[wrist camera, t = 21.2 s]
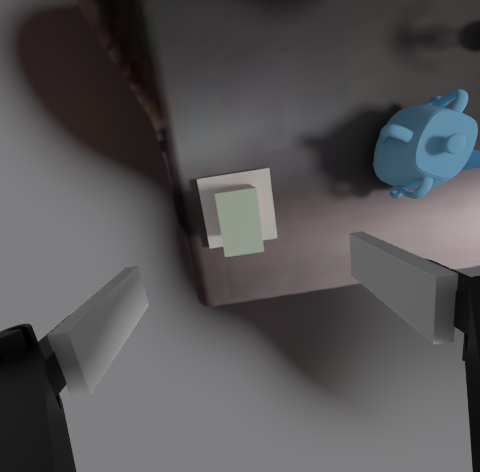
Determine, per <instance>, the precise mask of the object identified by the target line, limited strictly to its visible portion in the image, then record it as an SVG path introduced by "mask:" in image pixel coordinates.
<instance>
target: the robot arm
mask: <svg viewBox="0 0 480 472" xmlns="http://www.w3.org/2000/svg"><path fill="white" fill-rule="evenodd" d="M350 251H351V274H352V276H353V277H354V278H356V279H357V280H358V281H359V282H360V283H361V284H363V285H364V286H365V287H366V288H368V289H369V290H370V291H371V292H372V293H373V294H374V295H376V296H377V297H378V298H379V299H380V300H382V301H383V302H384V303H385V304H386V305H387V306H389V307H390V308H391V309H392V310H393V311H394V312H396V313H397V314H398V315H399V316H400V317H401V318H403V319H404V320H405V321H406V322H407V323H409V324H410V325H411V326H412V327H413V328H414V329H416V330H417V331H418V332H419V333H420V334H422V335H423V336H424V337H425V338H426V339H427V340H429V341H430V342H431V343H432V344H439V343H447V342H453V341H454V328H455V327H456V328H457V329H459V330H460V331H462V332H463V333H464V344H463V345H464V346H463V357H462V360H463V361H465V369H466V383H467V397H468V410H469V425H470V438H471V452H472V467H473V472H480V276H475V277H469V276H467V275H465V274H462V273H460V272H458V271H455V270H453V269H449V268H448V267H446V266H444V265H441V264H439V263H437V262H434V261H432V260H428V259H424V258H421V257H419V256H417V255H414V254H412V253H410V252H407V251H405V250H403V249H401V248H398V247H396V246H394V245H392V244H389V243H387V242H385V241H382V240H380V239H378V238H376V237H373V236H371V235H369V234H366V233H364V232H356V233H350ZM147 307H148V301H147V298H146V294H145V290H144V286H143V283H142V279H141V275H140V271H139V268H138V266H133V267H127V268H125V269H124V270H123V271H121V272H120V273H119V274H118V275H117V276H116V277H114V278H113V279H112V280H111V281H110V282H108V283H107V284H106V285H105V286H104V287H103V288H102V289H100V290H99V291H98V292H97V293H96V294H94V295H93V296H92V297H91V298H90V299H89V300H87V301H86V302H85V303H84V304H83V305H82V306H80V307H79V308H78V309H77V310H76V311H75V312H74V313H72V314H71V315H69V316H68V317H67V318H66V319H65V320H63V321H62V322H61V324H59V325H57V326H56V327H55V329H53V330H52V331H50V332H49V333H48V334H47V335H46V336H45V337H44V338H42V339H41V340H40V341H39V342H38V341H37V339H36V336H35V333H34V331H33V328H32V326H31V325H30V324H21V325H17V326H14V327H11V328H8V329H5V330H3V331H1V332H0V472H76V468H75V463H74V458H73V453H72V448H71V443H70V438H69V433H68V429H67V423H66V419H65V413H64V409H63V404H62V400H61V398H60V395H59V393H60V392H61V390H62V389H63V388H64V387H65V385H66V386H67V388H68V391H69V393H70V396H71V397H78V396H85V395H91V393H92V392H93V390H94V389H95V387H96V386H97V384H98V383H99V381H100V380H101V378H102V376H103V375H104V373H105V372H106V370H107V369H108V367H109V366H110V364H111V363H112V361H113V359H114V358H115V357H116V355H117V354H118V352H119V350H120V349H121V347H122V346H123V344H124V343H125V341H126V340H127V338H128V336H129V335H130V334H131V332H132V330H133V329H134V327H135V326H136V324H137V323H138V321H139V320H140V318H141V317H142V315H143V314H144V312H145V311H146V309H147Z"/></svg>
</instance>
